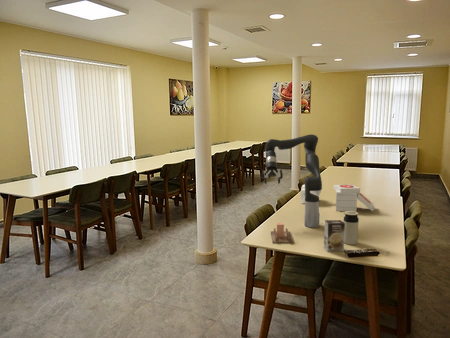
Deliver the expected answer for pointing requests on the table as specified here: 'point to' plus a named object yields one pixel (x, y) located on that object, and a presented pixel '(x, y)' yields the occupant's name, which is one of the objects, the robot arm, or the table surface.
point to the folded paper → (310, 192)
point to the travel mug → (351, 227)
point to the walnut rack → (286, 238)
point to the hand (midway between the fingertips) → (272, 183)
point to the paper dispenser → (350, 198)
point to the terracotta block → (280, 230)
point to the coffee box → (334, 235)
